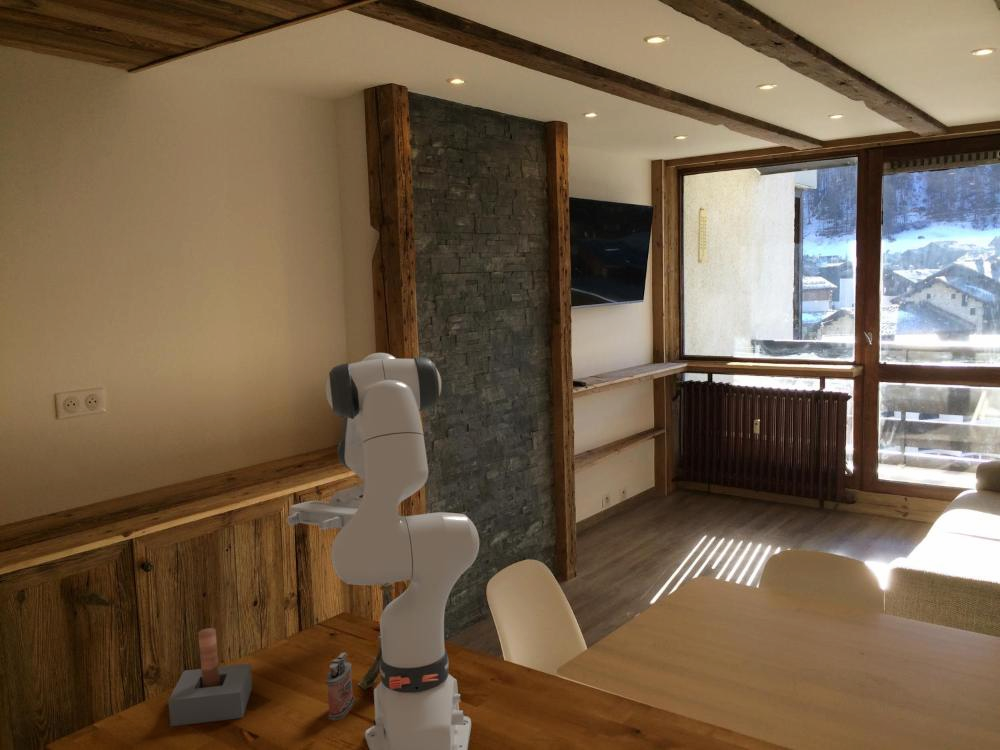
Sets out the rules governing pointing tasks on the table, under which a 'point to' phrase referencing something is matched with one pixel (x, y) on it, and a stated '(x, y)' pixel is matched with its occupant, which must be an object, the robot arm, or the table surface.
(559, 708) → the table surface
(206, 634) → the peg
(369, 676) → the eiffel tower
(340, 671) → the lighter
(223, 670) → the holder
